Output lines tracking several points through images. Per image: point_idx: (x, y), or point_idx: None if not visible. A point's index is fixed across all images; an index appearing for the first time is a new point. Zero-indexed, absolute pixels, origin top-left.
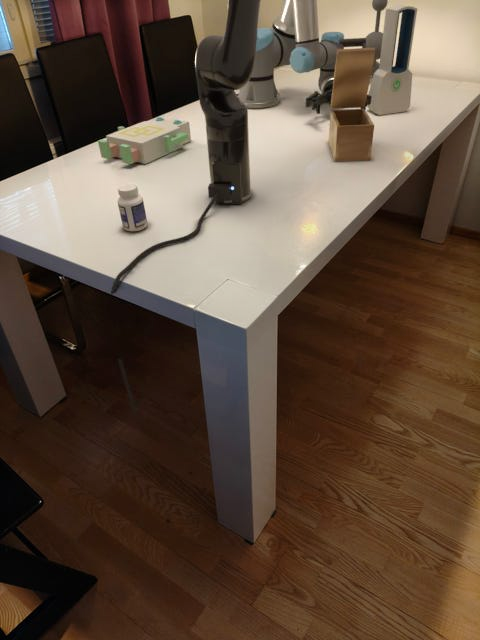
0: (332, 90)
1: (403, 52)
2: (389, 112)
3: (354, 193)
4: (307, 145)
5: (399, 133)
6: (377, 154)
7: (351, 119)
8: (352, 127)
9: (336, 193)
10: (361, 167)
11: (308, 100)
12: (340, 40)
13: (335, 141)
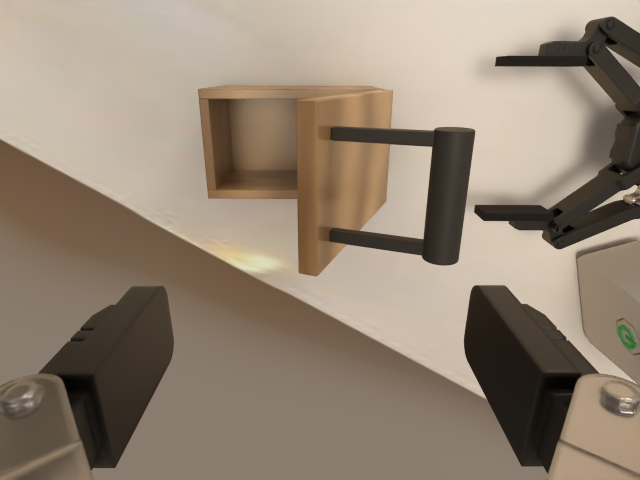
0: (375, 92)
1: None
2: (581, 288)
3: (22, 106)
4: (358, 18)
5: (413, 277)
6: (268, 199)
7: None
8: (203, 135)
9: (15, 63)
10: (182, 147)
11: (598, 27)
12: (446, 136)
13: (226, 87)
